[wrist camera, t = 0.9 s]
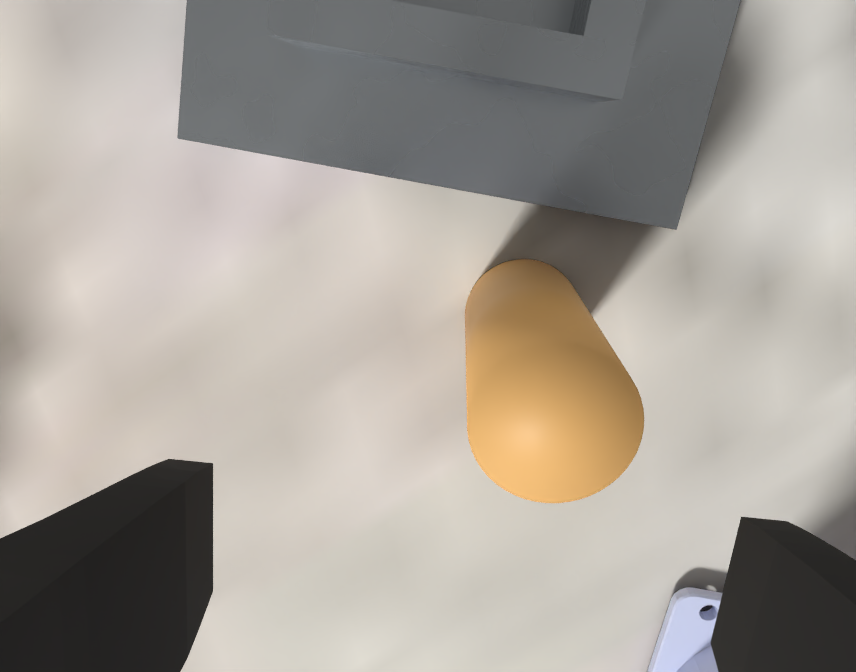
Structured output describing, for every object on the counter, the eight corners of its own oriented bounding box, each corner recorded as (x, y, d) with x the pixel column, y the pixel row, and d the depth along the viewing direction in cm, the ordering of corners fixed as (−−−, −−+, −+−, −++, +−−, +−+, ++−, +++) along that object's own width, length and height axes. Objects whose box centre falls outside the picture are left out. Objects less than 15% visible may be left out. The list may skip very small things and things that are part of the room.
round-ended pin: (591, 270, 19) (664, 359, 12) (565, 377, 20) (618, 516, 13) (477, 249, 19) (485, 326, 12) (455, 358, 20) (452, 486, 13)
